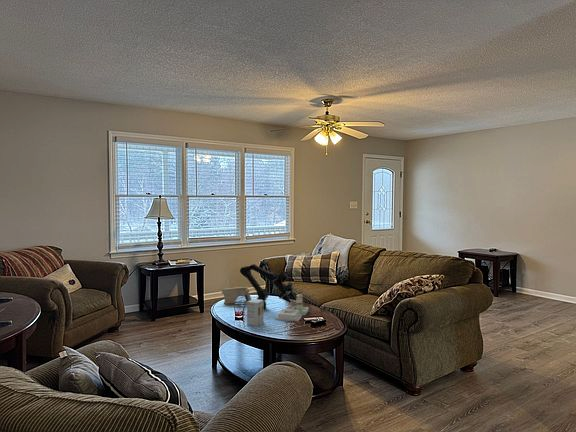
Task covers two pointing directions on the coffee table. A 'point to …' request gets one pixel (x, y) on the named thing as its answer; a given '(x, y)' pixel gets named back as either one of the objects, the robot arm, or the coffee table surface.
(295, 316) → the grey block with recess
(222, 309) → the coffee table surface
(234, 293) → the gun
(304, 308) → the parts tray
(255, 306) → the supplement box
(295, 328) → the coffee table surface
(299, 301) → the cream rounded cylinder
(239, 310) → the coffee table surface
